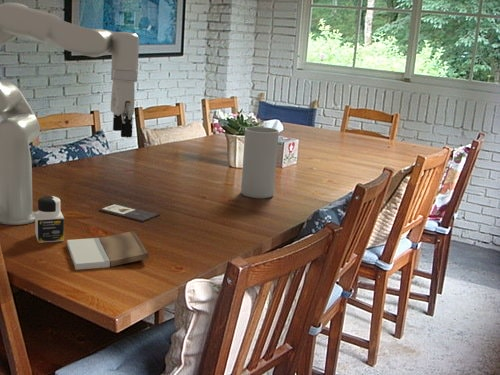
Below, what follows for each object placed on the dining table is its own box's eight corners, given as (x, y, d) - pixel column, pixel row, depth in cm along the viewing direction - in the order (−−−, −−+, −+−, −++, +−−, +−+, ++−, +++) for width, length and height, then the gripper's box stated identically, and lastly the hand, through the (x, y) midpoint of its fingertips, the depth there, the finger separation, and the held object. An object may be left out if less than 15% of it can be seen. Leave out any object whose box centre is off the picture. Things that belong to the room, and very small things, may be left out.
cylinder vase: (236, 190, 248) (241, 126, 241) (267, 189, 252) (272, 126, 245) (246, 199, 236) (251, 132, 230) (278, 198, 240) (283, 133, 234)
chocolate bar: (143, 220, 203) (99, 209, 211) (142, 223, 203) (99, 212, 211) (159, 214, 211) (116, 203, 219) (159, 216, 211) (116, 206, 219)
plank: (111, 266, 167) (110, 261, 166) (99, 242, 183) (98, 237, 182) (148, 258, 170) (148, 252, 169) (134, 235, 186) (133, 230, 185)
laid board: (75, 269, 163) (75, 263, 163) (67, 245, 179) (67, 239, 179) (109, 267, 166) (109, 260, 166) (98, 243, 182) (98, 237, 182)
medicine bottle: (37, 243, 179) (37, 202, 176) (35, 234, 186) (34, 195, 182) (64, 241, 182) (64, 200, 179) (60, 233, 188) (60, 193, 185)
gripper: (104, 71, 192) (103, 128, 197) (118, 78, 177) (116, 139, 182) (129, 72, 195) (127, 128, 200) (145, 80, 180) (142, 139, 185)
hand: (122, 133), depth 191 cm, fingers open, 9 cm apart
